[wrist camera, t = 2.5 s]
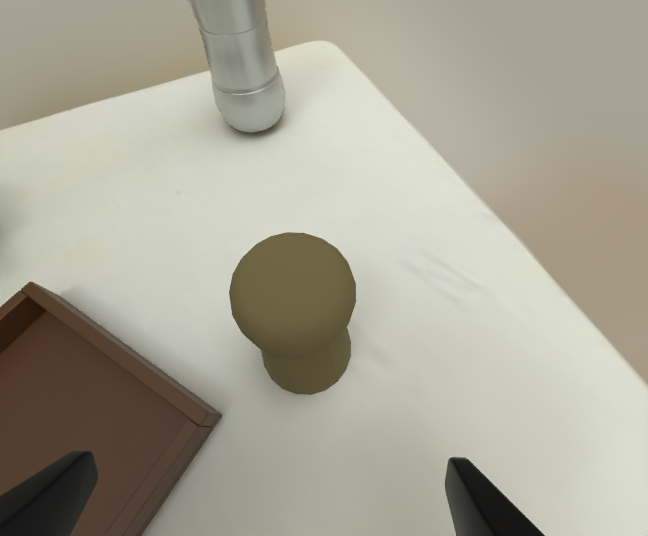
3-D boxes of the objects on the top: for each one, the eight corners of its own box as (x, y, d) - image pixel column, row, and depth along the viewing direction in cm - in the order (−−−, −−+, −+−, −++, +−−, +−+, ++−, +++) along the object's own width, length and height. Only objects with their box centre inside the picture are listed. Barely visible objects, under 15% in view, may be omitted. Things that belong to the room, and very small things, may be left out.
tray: (-14, 763, 13) (-86, 832, 11) (-184, 523, 17) (-263, 536, 15) (222, 414, 20) (208, 412, 17) (59, 295, 23) (30, 280, 21)
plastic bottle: (301, 120, 32) (269, -261, 15) (246, 152, 30) (131, -247, 13) (264, 91, 35) (197, -269, 17) (210, 118, 32) (71, -258, 15)
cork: (250, 326, 22) (189, 240, 12) (328, 292, 23) (328, 190, 14) (281, 411, 20) (235, 389, 10) (367, 369, 21) (402, 311, 11)
